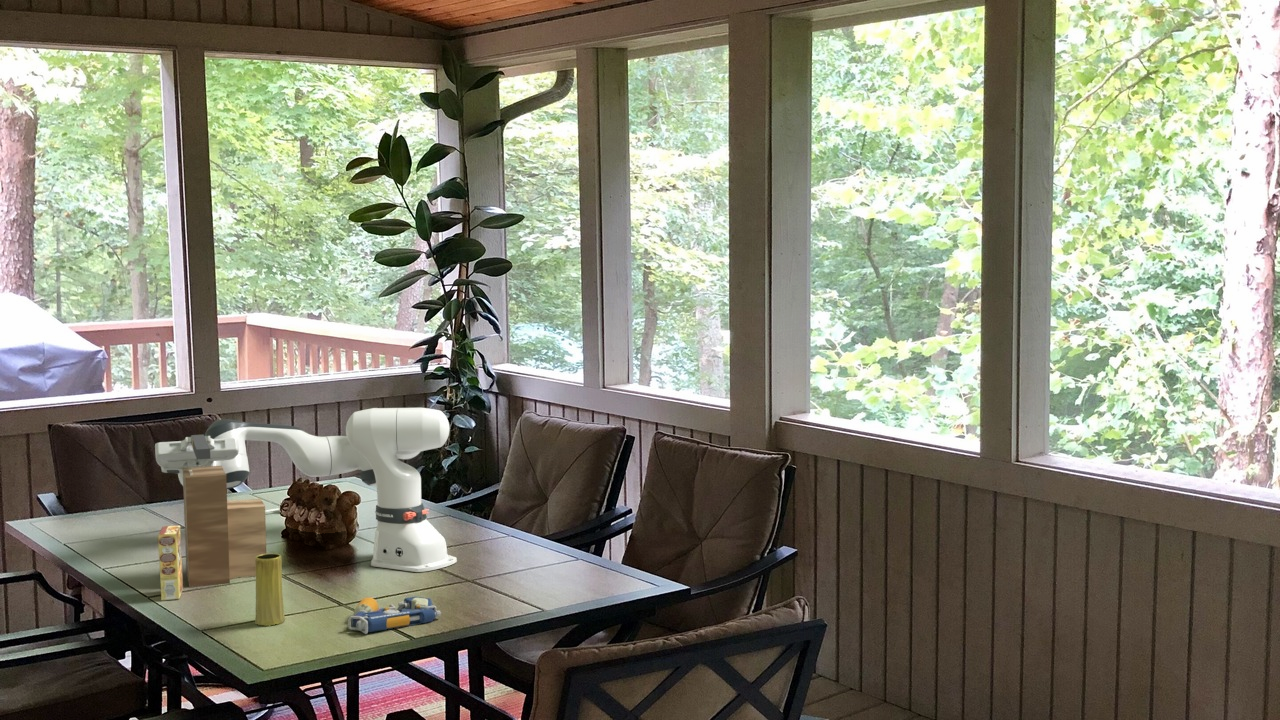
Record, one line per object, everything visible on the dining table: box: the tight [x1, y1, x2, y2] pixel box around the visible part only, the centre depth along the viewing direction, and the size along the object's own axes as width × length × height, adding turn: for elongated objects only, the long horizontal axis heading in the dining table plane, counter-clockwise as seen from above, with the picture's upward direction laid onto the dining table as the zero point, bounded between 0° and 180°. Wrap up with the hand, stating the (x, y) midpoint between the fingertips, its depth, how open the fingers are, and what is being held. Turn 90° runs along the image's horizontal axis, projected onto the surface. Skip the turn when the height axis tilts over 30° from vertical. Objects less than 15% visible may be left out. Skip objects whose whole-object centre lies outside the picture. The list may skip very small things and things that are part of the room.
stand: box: [182, 466, 268, 588], centre depth 295 cm, size 14×18×26 cm
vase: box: [254, 552, 286, 627], centre depth 258 cm, size 6×6×14 cm
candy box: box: [157, 525, 184, 601], centre depth 278 cm, size 9×4×15 cm, turn 16°
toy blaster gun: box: [347, 596, 442, 635], centre depth 260 cm, size 21×4×15 cm
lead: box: [190, 433, 210, 460], centre depth 298 cm, size 24×3×2 cm, turn 23°
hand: (198, 439), depth 306 cm, fingers closed on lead, 3 cm apart
